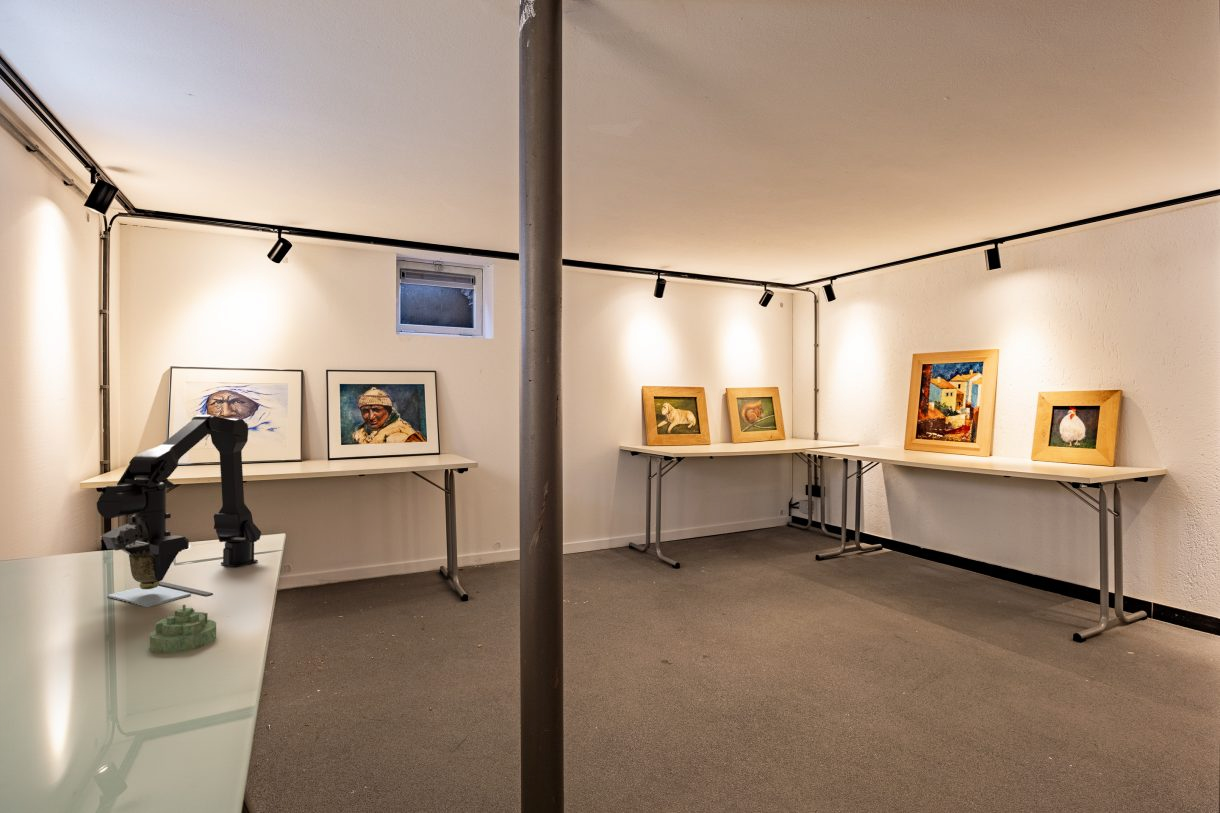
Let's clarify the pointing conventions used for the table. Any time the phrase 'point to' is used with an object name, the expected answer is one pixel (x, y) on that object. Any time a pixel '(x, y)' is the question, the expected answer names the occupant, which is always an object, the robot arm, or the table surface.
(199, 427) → the robot arm
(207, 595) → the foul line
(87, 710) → the table surface
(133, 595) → the board
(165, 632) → the decorative artifact
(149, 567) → the cup
